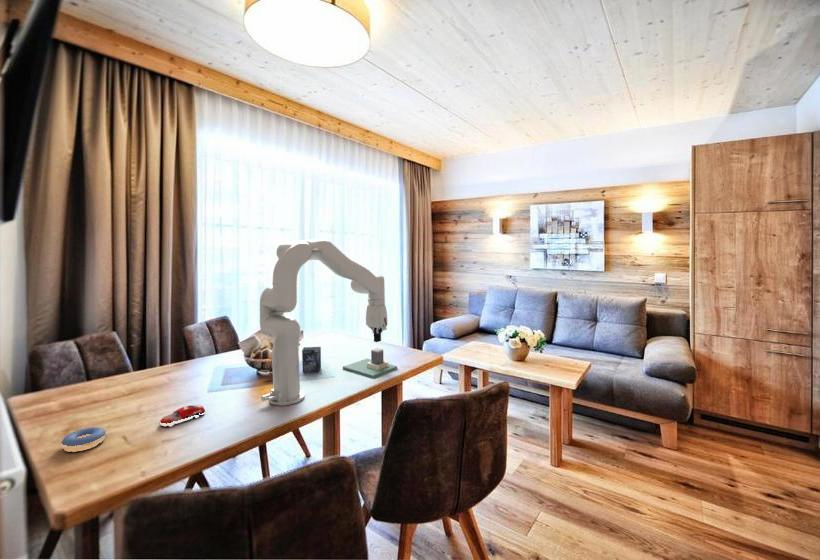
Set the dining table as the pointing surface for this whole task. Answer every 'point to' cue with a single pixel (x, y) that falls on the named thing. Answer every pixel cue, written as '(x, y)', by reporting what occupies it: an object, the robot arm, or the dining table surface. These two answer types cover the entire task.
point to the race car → (183, 413)
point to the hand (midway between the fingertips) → (377, 341)
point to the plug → (377, 356)
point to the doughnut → (73, 440)
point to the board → (370, 368)
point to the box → (311, 359)
